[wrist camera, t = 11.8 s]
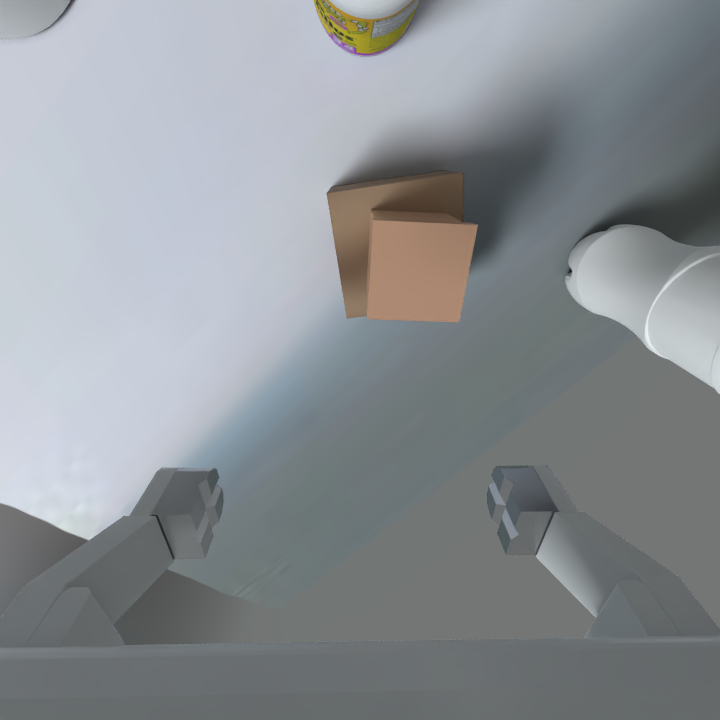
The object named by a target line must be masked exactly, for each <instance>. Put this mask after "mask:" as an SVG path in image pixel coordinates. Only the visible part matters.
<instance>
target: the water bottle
mask: <svg viewBox="0 0 720 720" xmlns="http://www.w3.org/2000/svg"><path fill="white" fill-rule="evenodd" d="M568 263H569V266H570V268H571V269H572V272H571V273H569V274H566V275H565V276H566V277H565V283H566V286H567V288H568V290H569V292H570V294H571V295H572V297H573V298H574V299H575V300H576V301H577V302H578V303H579V304H580V305H582V306H583V307H585V308H586V309H588V310H589V311H591V312H592V313H595V314H599V315H603V316H606V317H609V318H611V319H614V320H616V321H618V322H619V323H621V324H623V325H625V326H626V327H627V328H629V329H630V330H632V331H633V332H634V333H635V334H636V335H637V336H638V337H639V338H640V339H641V340H642V342H643V343H644V344H645V346H646V347H647V348H648V349H649V350H651V351H653V352H654V353H656V354H657V355H659V356H661V357H663V358H666V359H669V360H671V361H672V362H674V363H675V364H677V365H679V366H680V367H682V368H683V369H685V370H687V371H688V372H690V373H691V374H693V375H694V376H696V377H697V378H699V379H701V380H702V381H704V382H705V383H707V384H708V385H710V386H712V387H713V388H715V389H716V391H717V392H718V393H719V394H720V246H710V247H695V246H690V245H685V244H682V243H678V242H676V241H673V240H672V239H670V238H668V237H667V236H665V235H664V234H662V233H661V232H659V231H657V230H654V229H651V228H648V227H644V226H638V225H629V224H623V225H615V226H612V227H610V228H609V229H608V230H606V231H602V232H597V233H594V234H591V235H589V236H587V237H585V238H584V239H582V240H581V241H579V242H578V243H577V244H576V245H575V247H574V248H573V249H572V251H571V253H570V256H569V259H568Z"/></svg>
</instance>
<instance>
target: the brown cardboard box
mask: <svg viewBox="0 0 720 720" xmlns="http://www.w3.org/2000/svg"><path fill="white" fill-rule="evenodd" d="M477 228H478V225H477V224H475V223H470V222H461V221H459V220H458V219H456V218H454V217H452V216H451V215H449V214H447V213H429V212H408V211H386V210H371V215H370V233H369V250H368V268H367V292H368V299H367V319H380V320H410V321H440V322H459V320H460V315H461V310H462V305H463V300H464V294H465V289H466V284H467V279H468V274H469V269H470V264H471V258H472V253H473V248H474V243H475V238H476V233H477Z"/></svg>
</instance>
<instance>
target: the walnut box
mask: <svg viewBox="0 0 720 720" xmlns="http://www.w3.org/2000/svg"><path fill="white" fill-rule="evenodd" d="M463 175H464V173H459V172H452V171H445V170H443V171H436V172H429V173H423V174H416V175H409V176H402V177H396V178H389V179H382V180H375V181H368V182H362V183H355V184H348V185H341V186H335V187H331V188H330V189H329V191H328V192H327V198H328V204H329V210H330V217H331V223H332V229H333V235H334V241H335V248H336V254H337V260H338V266H339V272H340V279H341V285H342V291H343V297H344V303H345V310H346V316H347V318H354V317H362V316H367V299H368V292H367V268H368V250H369V233H370V215H371V210H386V211H408V212H429V213H447V214H449V215H451V216H452V217H454V218H456V219H458V220H459V221H461V222H463Z"/></svg>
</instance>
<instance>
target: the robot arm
mask: <svg viewBox="0 0 720 720" xmlns="http://www.w3.org/2000/svg"><path fill="white" fill-rule="evenodd" d="M69 2H70V0H0V39H1V40H12V39H21V38H25V37H29V36H32V35H35V34H37V33H39V32H41V31H43V30H44V29H46V28H47V27H49V26H50V25H51V24H53V23H54V22H55V21H56V20H57V19H58V18H59V17H60V15H61V14H62V13H63V12H64V10H65V9H66V7H67V6H68V4H69ZM492 477H493V480H494V482H493V483H492V484H491V485H490V486H489V488H488V492H487V504H488V509H489V512H490V515H491V518H492V519H493V520H494V521H495V522H496V523H497V524H498V525H500V526H499V529H498V532H497V533H498V536H499V538H500V541H501V544H502V546H503V549H504V551H505V554H506V555H537V556H536V557H537V558H538V559H539V560H540V561H541V562H542V564H544V566H546V568H547V569H548V570H549V571H550V572H551V573H552V574H553V575H554V576H556V578H557V579H558V580H559V581H560V582H561V583H562V584H563V585H564V586H565V587H566V588H567V589H568V590H569V591H570V592H571V593H572V594H573V595H574V596H575V597H576V598H577V599H578V600H579V601H580V602H581V603H582V604H583V605H584V606H585V607H586V608H587V609H588V610H589V611H590V612H591V613H592V614H593V615H594V616H595V617H596V618H595V620H594V621H593V623H592V625H591V626H590V628H589V629H588V631H587V633H586V635H585V637H583V638H528V639H527V638H526V639H467V640H406V641H349V642H292V643H234V644H181V645H180V644H178V645H125V646H124V643H123V640H122V638H121V637H120V635H119V634H118V632H117V630H116V629H115V627H114V626H113V624H114V623H115V622H116V621H117V620H118V619H119V618H120V617H121V616H122V614H124V613H125V612H126V610H128V609H129V608H130V607H131V606H132V604H133V603H134V602H135V601H136V600H137V599H138V598H139V597H140V596H141V595H142V594H143V593H144V592H145V591H146V590H147V589H148V588H149V587H150V586H151V585H152V584H153V583H154V582H155V580H157V578H158V577H159V576H160V575H161V574H162V573H163V572H164V571H165V570H166V569H167V568H168V567H169V566H170V565H171V564H172V563H173V562H174V560H176V559H201V558H206V555H207V552H208V550H209V547H210V544H211V542H212V539H213V532H212V527H213V526H214V525H215V524H217V523H218V522H219V519H220V516H221V513H222V508H223V502H224V501H223V491H222V488H221V487H220V486H219V485H217V481H218V479H219V475H218V472H217V469H215V468H161V469H160V470H158V471H157V472H156V474H155V475H154V477H153V479H152V480H151V482H150V483H149V485H148V487H147V488H146V490H145V492H144V493H143V495H142V496H141V498H140V500H139V501H138V503H137V504H136V506H135V508H134V509H133V511H132V513H131V514H130V516H123V517H122V518H121V519H119V520H118V521H116V522H115V523H113V524H112V525H111V526H109V527H108V528H106V529H105V530H103V531H102V532H101V533H99V534H98V535H96V536H95V537H93V538H92V539H91V540H89V541H88V542H86V543H85V544H84V545H82V546H81V547H79V548H78V549H76V550H75V551H74V552H72V553H71V554H69V555H68V556H66V557H65V558H64V559H62V560H61V561H59V562H58V563H57V564H55V565H54V566H53V567H51V568H49V569H48V570H46V571H45V572H44V573H42V574H41V575H39V576H38V577H37V578H35V579H34V580H32V581H31V582H29V583H28V584H27V585H25V586H24V587H23V589H22V590H21V591H20V593H19V594H18V595H17V596H16V598H15V599H14V600H13V602H12V603H11V604H10V606H9V607H8V608H7V610H6V611H5V612H4V614H3V615H2V616H1V617H0V720H720V629H719V627H718V626H717V625H716V623H715V622H714V621H713V620H712V618H711V617H710V616H709V614H708V613H707V612H706V611H705V609H704V608H703V607H702V605H701V604H700V603H699V601H698V600H697V599H696V598H695V596H694V595H693V594H692V593H691V591H690V590H689V589H688V587H687V586H686V585H685V583H684V582H683V581H682V580H681V578H680V577H678V576H676V575H675V574H674V573H672V572H671V571H670V570H668V569H667V568H665V567H664V566H662V565H661V564H659V563H658V562H656V561H655V560H653V559H652V558H650V557H649V556H648V555H646V554H645V553H643V552H642V551H640V550H639V549H637V548H636V547H634V546H633V545H632V544H630V543H629V542H627V541H626V540H625V539H623V538H622V537H620V536H619V535H617V534H616V533H614V532H613V531H611V530H610V529H608V528H607V527H606V526H604V525H603V524H601V523H600V522H598V521H597V520H595V519H594V518H593V517H591V516H589V515H588V514H587V513H585V512H579V511H578V509H577V508H576V506H575V504H574V503H573V501H572V500H571V498H570V497H569V495H568V494H567V492H566V491H565V489H564V487H563V486H562V484H561V483H560V481H559V480H558V478H557V477H556V475H555V474H554V472H553V470H552V469H551V468H550V467H549V466H547V465H542V466H496V467H495V468H494V469H493V473H492Z"/></svg>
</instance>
